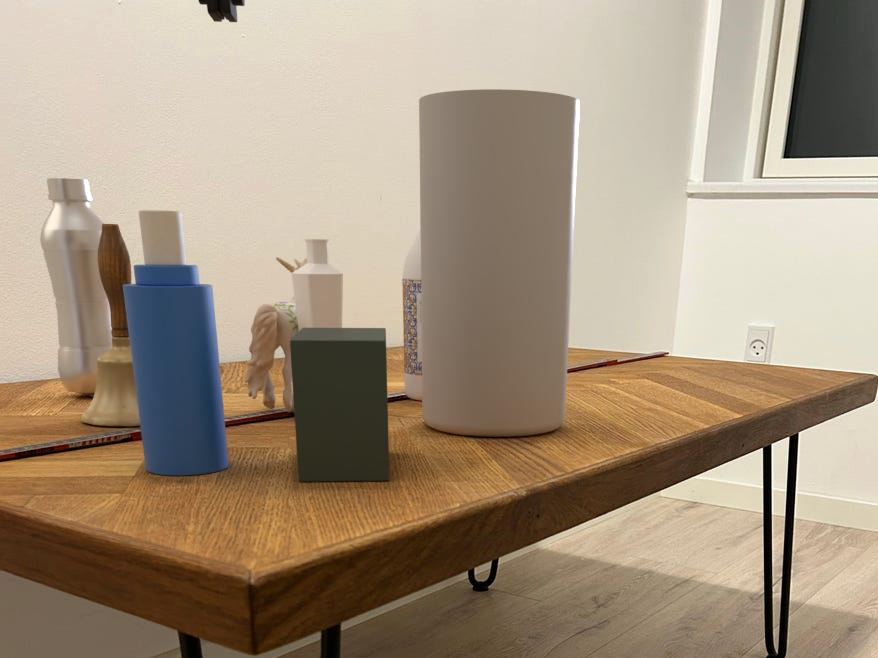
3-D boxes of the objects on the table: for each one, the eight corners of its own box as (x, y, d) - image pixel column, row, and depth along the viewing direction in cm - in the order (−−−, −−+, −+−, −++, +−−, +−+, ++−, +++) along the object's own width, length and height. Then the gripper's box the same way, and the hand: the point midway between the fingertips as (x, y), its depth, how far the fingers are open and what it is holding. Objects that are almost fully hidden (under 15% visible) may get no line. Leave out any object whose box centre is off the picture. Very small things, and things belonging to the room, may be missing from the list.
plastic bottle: (69, 391, 99) (37, 180, 92) (136, 390, 101) (110, 182, 93) (55, 400, 94) (20, 176, 86) (126, 399, 95) (98, 178, 87)
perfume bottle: (343, 410, 90) (336, 239, 84) (356, 417, 86) (349, 239, 80) (295, 412, 88) (285, 238, 83) (306, 420, 85) (296, 238, 79)
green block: (298, 481, 62) (289, 340, 59) (309, 451, 72) (302, 327, 68) (389, 481, 63) (385, 340, 60) (388, 451, 72) (385, 327, 69)
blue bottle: (162, 510, 65) (2, 291, 58) (179, 491, 70) (32, 287, 64) (307, 423, 63) (158, 189, 57) (313, 410, 68) (177, 194, 62)
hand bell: (165, 409, 89) (144, 225, 83) (191, 422, 83) (171, 224, 77) (72, 416, 85) (43, 223, 79) (93, 430, 79) (62, 221, 72)
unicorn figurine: (351, 390, 102) (346, 257, 97) (326, 421, 84) (318, 260, 79) (285, 390, 102) (276, 257, 97) (245, 420, 84) (232, 259, 79)
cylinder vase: (451, 442, 76) (452, 84, 66) (404, 417, 86) (398, 106, 77) (589, 433, 80) (609, 96, 70) (528, 411, 91) (537, 115, 81)
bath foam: (423, 391, 103) (421, 187, 95) (481, 395, 100) (484, 186, 92) (392, 399, 97) (387, 183, 89) (453, 404, 94) (453, 182, 86)
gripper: (320, -291, 63) (333, 33, 70) (88, -306, 61) (125, 26, 68) (312, -357, 56) (328, 9, 63) (51, -376, 54) (96, 1, 61)
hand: (222, 17), depth 66 cm, fingers closed
